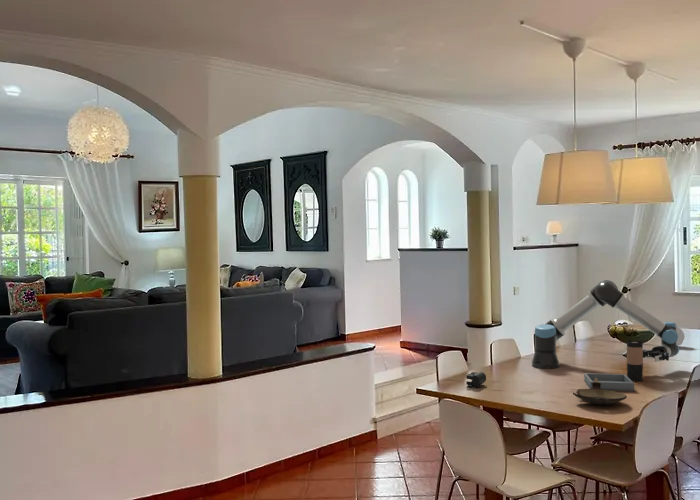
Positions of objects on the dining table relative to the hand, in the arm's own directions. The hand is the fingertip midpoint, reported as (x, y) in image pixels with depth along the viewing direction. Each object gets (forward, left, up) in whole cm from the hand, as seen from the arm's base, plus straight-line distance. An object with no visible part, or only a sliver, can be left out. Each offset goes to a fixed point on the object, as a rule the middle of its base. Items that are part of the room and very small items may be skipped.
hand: (642, 357), depth 338 cm
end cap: (-86, -31, -11) cm, 92 cm away
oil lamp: (-30, -54, -11) cm, 63 cm away
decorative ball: (+42, +102, -11) cm, 111 cm away
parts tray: (-21, -21, -11) cm, 32 cm away
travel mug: (-5, -5, -11) cm, 13 cm away
